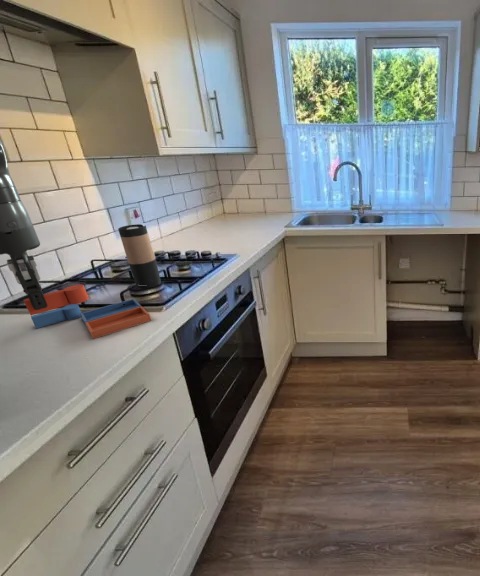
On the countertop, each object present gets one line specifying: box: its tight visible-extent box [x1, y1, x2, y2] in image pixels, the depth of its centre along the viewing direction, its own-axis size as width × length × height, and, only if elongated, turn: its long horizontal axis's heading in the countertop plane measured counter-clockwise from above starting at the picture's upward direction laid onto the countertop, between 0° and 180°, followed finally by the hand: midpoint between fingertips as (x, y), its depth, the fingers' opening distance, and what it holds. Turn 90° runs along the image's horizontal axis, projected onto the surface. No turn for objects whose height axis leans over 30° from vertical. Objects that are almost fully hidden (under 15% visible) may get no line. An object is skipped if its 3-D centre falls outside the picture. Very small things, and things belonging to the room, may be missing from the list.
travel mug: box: [117, 223, 162, 290], centre depth 119 cm, size 8×8×20 cm
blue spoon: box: [30, 303, 82, 329], centre depth 99 cm, size 10×4×3 cm, turn 136°
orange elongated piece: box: [23, 284, 90, 316], centre depth 78 cm, size 10×4×3 cm, turn 135°
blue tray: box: [80, 298, 142, 328], centre depth 102 cm, size 13×8×2 cm, turn 136°
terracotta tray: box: [85, 305, 152, 339], centre depth 96 cm, size 13×8×2 cm, turn 136°
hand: (40, 306), depth 76 cm, fingers closed on orange elongated piece, 1 cm apart
